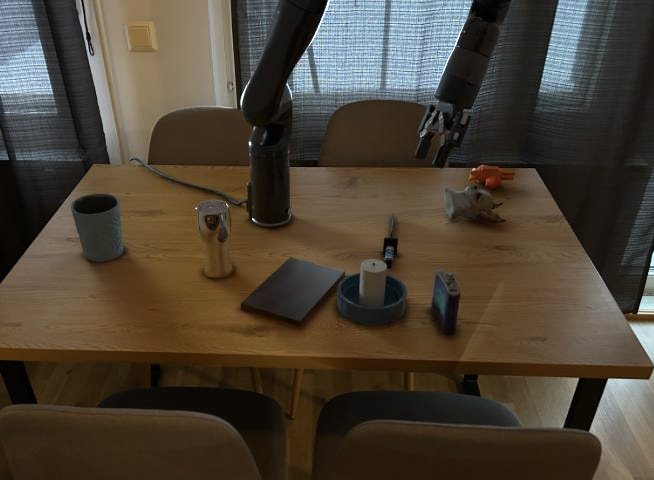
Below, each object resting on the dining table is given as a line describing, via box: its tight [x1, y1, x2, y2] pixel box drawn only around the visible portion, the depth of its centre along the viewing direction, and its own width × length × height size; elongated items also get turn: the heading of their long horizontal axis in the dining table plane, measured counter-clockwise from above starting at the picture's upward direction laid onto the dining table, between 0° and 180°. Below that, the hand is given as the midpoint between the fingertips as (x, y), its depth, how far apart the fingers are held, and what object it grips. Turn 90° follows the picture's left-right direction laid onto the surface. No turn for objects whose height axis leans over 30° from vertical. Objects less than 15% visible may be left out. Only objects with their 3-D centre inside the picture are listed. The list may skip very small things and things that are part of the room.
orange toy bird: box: [467, 164, 516, 190], centre depth 170 cm, size 5×8×12 cm
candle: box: [359, 258, 388, 308], centre depth 122 cm, size 5×5×10 cm
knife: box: [382, 213, 399, 270], centre depth 143 cm, size 31×3×4 cm, turn 167°
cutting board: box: [240, 256, 346, 327], centre depth 129 cm, size 13×20×2 cm, turn 152°
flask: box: [430, 269, 461, 336], centre depth 117 cm, size 9×3×11 cm, turn 8°
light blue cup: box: [70, 193, 124, 262], centre depth 140 cm, size 10×10×12 cm
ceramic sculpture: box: [443, 184, 507, 225], centre depth 154 cm, size 11×9×15 cm
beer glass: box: [195, 199, 234, 279], centre depth 132 cm, size 7×7×15 cm
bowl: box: [336, 271, 408, 326], centre depth 124 cm, size 13×13×4 cm
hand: (427, 162), depth 123 cm, fingers open, 8 cm apart
